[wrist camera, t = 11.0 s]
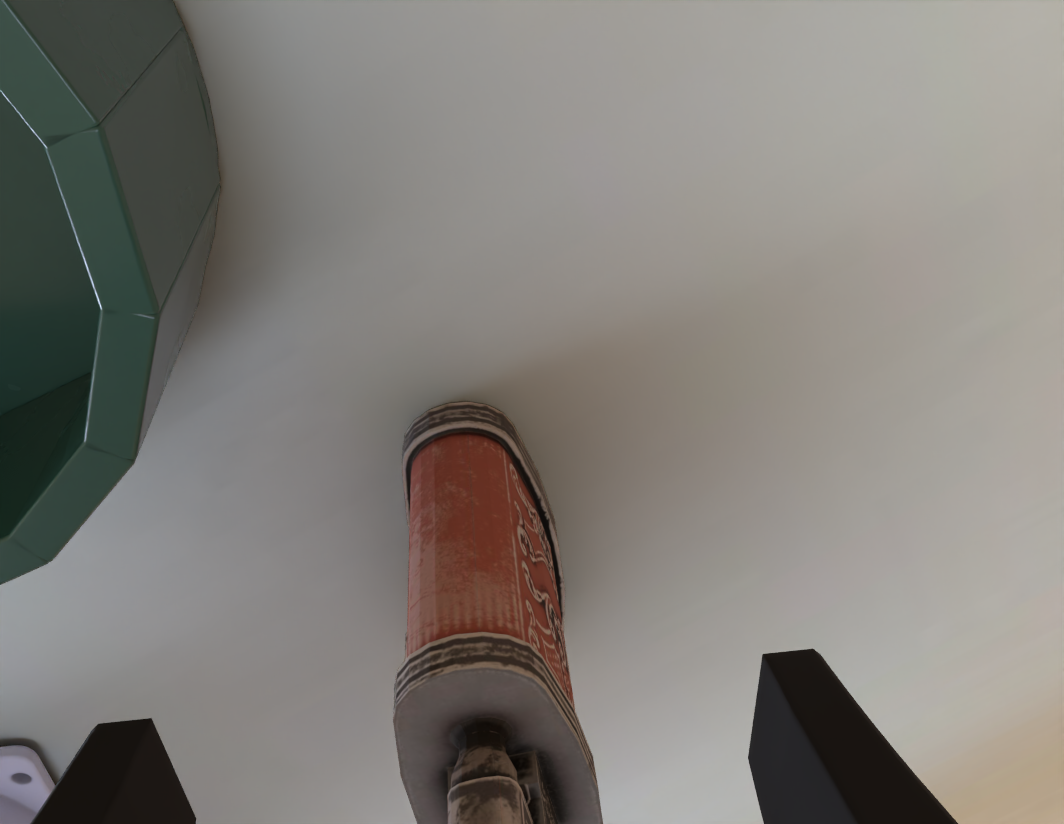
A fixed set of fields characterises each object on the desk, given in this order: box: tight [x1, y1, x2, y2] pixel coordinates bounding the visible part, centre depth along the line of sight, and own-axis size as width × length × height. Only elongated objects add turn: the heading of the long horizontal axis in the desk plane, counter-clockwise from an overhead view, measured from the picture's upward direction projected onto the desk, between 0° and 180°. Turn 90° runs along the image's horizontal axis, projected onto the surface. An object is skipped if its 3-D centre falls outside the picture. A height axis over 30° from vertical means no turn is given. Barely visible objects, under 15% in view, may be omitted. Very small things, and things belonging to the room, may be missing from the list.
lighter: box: [393, 402, 603, 824], centre depth 19 cm, size 8×3×10 cm, turn 11°
